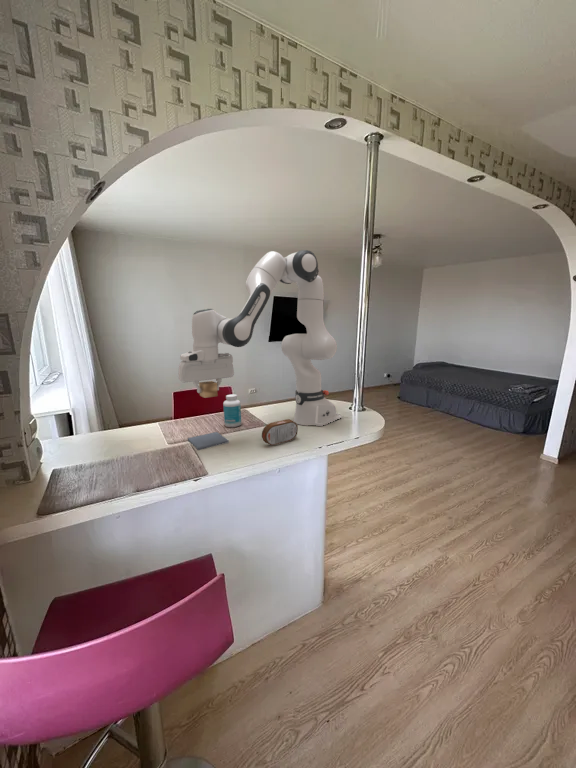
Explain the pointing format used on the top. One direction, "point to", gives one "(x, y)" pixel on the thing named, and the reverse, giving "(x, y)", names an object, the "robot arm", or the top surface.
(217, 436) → the mat
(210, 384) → the cube
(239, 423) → the pill bottle
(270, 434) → the tin
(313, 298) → the robot arm
